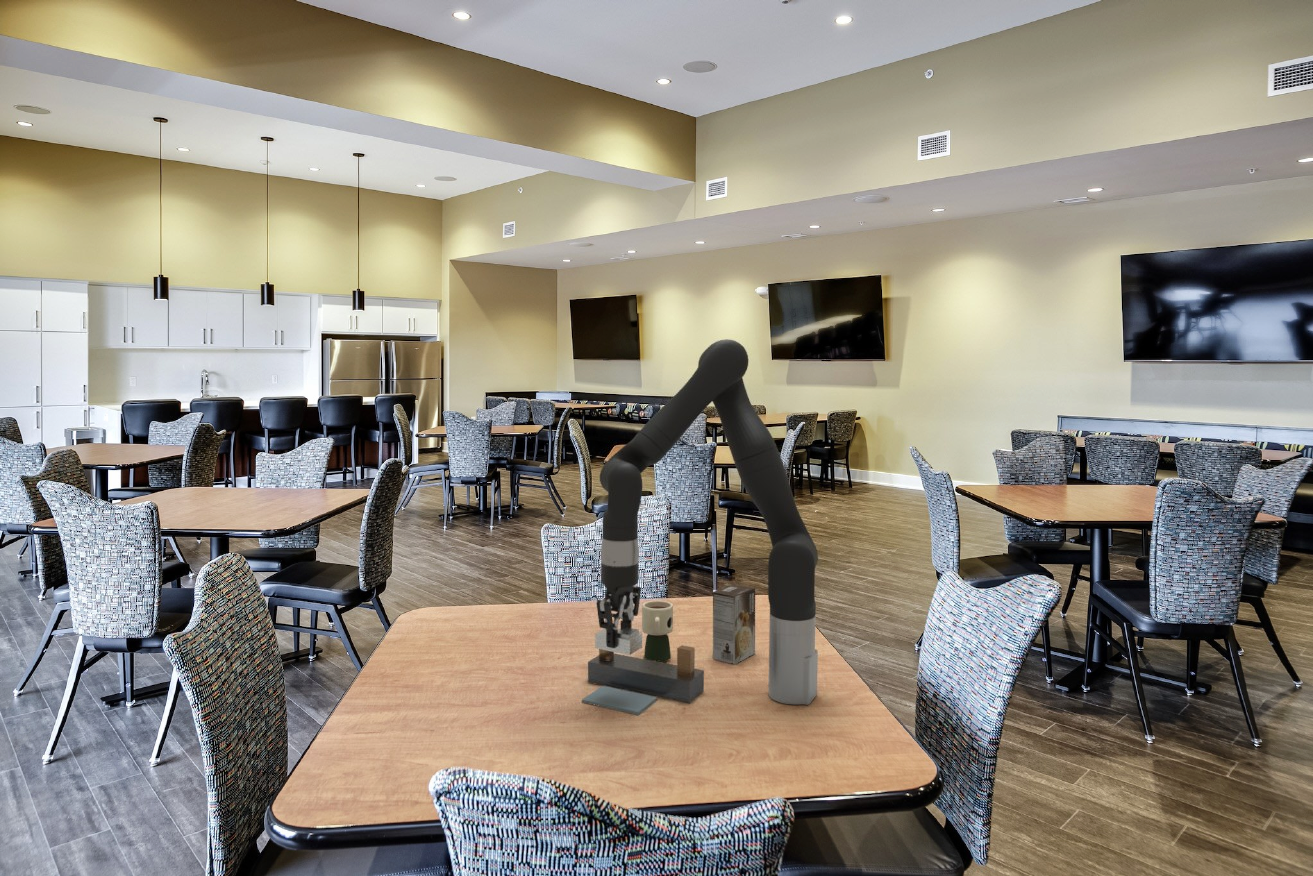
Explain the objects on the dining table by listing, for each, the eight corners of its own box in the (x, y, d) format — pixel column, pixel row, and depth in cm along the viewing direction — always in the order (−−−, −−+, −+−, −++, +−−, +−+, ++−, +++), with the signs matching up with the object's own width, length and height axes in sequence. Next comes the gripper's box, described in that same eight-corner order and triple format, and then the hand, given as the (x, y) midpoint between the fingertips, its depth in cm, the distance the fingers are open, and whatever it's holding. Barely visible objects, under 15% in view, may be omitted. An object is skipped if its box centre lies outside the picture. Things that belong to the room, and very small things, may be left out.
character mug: (673, 668, 181) (673, 611, 180) (641, 668, 181) (641, 611, 180) (672, 651, 192) (672, 598, 191) (642, 651, 192) (642, 597, 191)
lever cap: (642, 647, 163) (642, 629, 162) (629, 655, 158) (630, 636, 158) (608, 640, 166) (608, 622, 166) (595, 648, 162) (595, 629, 162)
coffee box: (732, 648, 194) (733, 583, 193) (755, 654, 190) (756, 587, 189) (711, 659, 187) (712, 591, 185) (735, 665, 183) (736, 596, 181)
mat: (657, 700, 163) (657, 697, 163) (638, 715, 156) (638, 712, 156) (602, 688, 169) (602, 685, 169) (581, 702, 162) (581, 699, 162)
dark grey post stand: (703, 691, 168) (704, 644, 167) (689, 703, 162) (689, 655, 161) (604, 671, 179) (604, 627, 178) (588, 682, 173) (587, 636, 172)
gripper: (617, 570, 153) (617, 657, 154) (653, 555, 165) (652, 636, 167) (584, 565, 156) (584, 650, 158) (621, 550, 169) (620, 630, 170)
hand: (619, 642), depth 162 cm, fingers closed on lever cap, 5 cm apart
